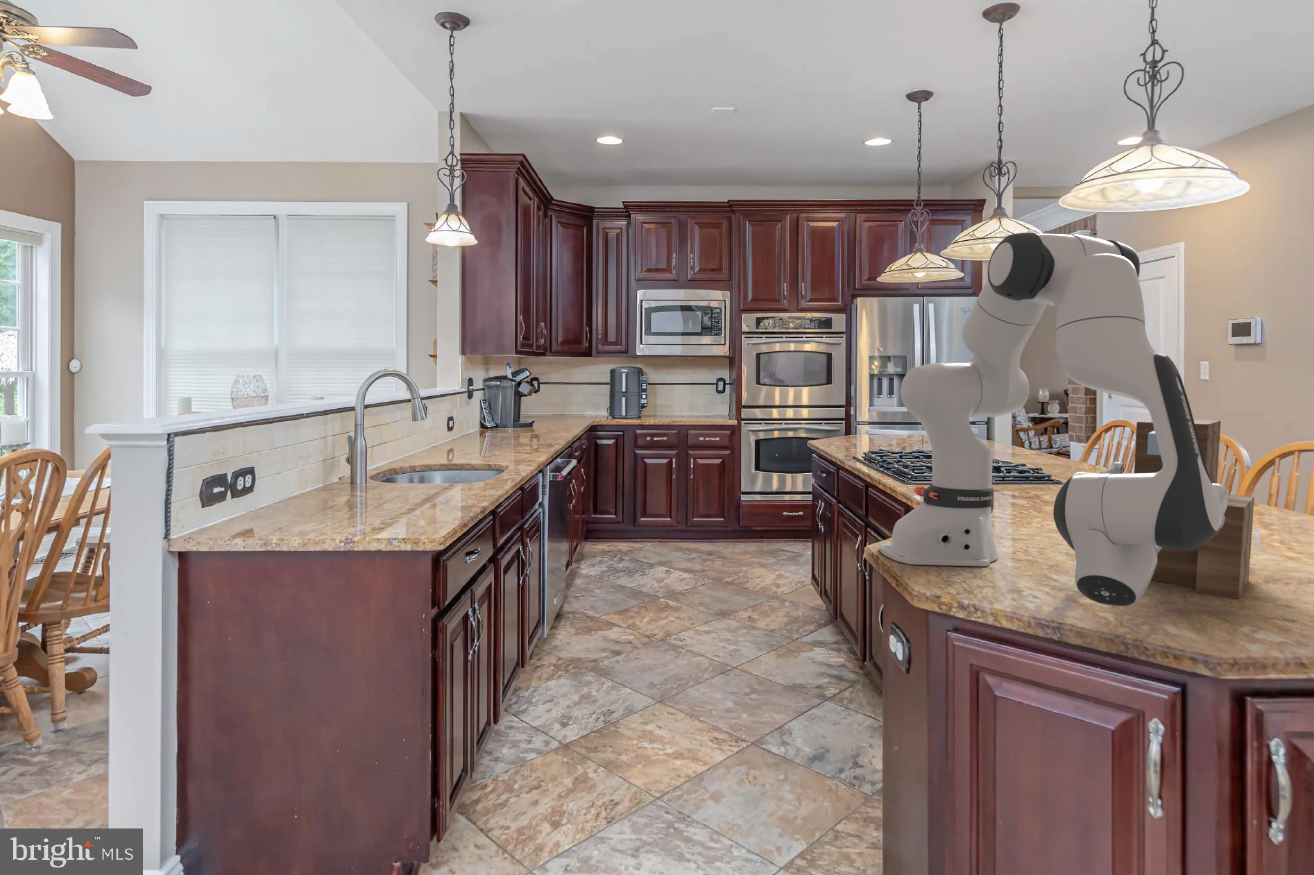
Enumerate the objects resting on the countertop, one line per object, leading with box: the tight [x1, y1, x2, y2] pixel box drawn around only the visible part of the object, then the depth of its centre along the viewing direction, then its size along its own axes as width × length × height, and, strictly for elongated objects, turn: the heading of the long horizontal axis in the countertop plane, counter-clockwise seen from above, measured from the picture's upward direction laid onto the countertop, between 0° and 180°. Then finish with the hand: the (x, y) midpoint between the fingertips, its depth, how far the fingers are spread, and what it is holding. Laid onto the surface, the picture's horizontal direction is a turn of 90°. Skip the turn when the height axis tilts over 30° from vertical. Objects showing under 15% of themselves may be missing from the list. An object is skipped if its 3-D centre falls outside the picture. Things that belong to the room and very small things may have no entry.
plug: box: [1147, 431, 1161, 455], centre depth 120 cm, size 20×4×4 cm, turn 134°
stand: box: [1133, 418, 1255, 600], centre depth 122 cm, size 17×16×28 cm
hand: (1152, 468), depth 111 cm, fingers open, 8 cm apart
